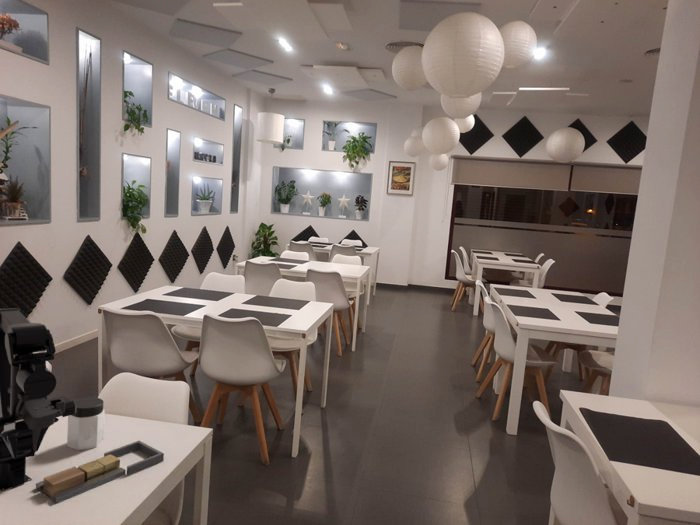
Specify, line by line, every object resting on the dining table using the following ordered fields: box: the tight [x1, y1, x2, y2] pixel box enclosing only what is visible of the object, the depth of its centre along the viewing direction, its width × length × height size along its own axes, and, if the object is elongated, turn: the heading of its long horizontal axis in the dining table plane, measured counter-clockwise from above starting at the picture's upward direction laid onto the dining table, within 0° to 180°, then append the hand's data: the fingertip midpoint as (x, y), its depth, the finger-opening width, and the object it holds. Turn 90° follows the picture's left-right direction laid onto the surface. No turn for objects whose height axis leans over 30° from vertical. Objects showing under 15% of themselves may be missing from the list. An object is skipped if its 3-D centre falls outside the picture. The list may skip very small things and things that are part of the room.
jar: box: [66, 396, 106, 451], centre depth 138 cm, size 9×8×12 cm
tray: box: [103, 440, 165, 476], centre depth 131 cm, size 11×10×3 cm
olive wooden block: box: [77, 459, 104, 482], centre depth 121 cm, size 4×4×3 cm
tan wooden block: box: [95, 454, 121, 475], centre depth 125 cm, size 4×4×3 cm
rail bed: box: [35, 467, 127, 504], centre depth 119 cm, size 9×16×2 cm, turn 147°
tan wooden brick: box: [42, 466, 85, 497], centre depth 116 cm, size 4×7×3 cm, turn 146°
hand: (25, 454), depth 108 cm, fingers open, 4 cm apart
